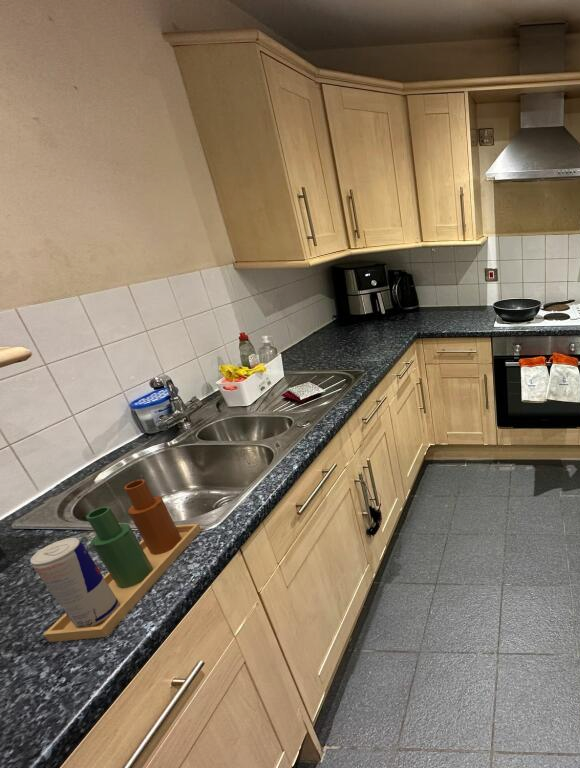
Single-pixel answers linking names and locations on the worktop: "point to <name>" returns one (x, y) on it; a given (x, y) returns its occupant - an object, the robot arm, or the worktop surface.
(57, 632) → the tray
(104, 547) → the green bottle
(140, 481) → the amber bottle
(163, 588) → the worktop surface
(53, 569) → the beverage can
